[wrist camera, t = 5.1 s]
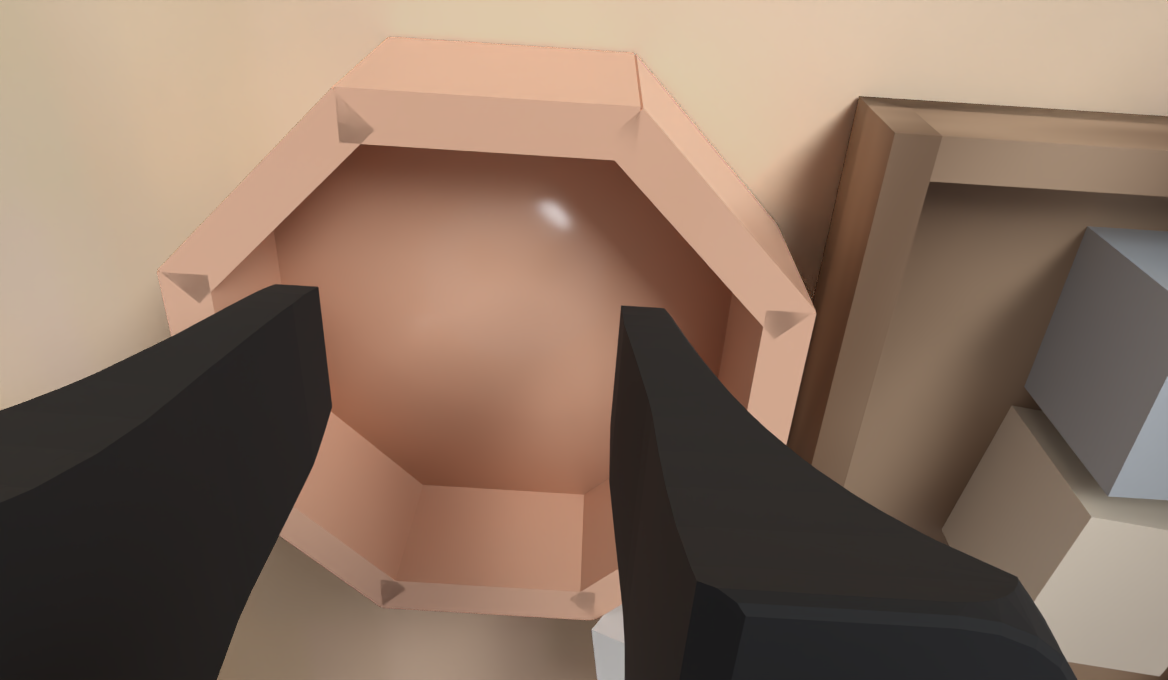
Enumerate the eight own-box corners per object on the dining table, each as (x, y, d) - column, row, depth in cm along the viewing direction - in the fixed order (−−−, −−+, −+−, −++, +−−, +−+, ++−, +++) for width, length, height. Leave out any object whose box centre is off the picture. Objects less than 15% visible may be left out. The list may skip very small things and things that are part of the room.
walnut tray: (1546, 141, 15) (1680, 183, 13) (1184, 691, 23) (1235, 768, 21) (859, 96, 15) (895, 132, 13) (731, 665, 23) (742, 739, 21)
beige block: (1161, 433, 18) (1268, 548, 15) (1078, 552, 20) (1159, 676, 17) (1011, 405, 18) (1090, 517, 15) (941, 529, 20) (1000, 650, 17)
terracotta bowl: (809, 64, 15) (860, 121, 12) (724, 512, 20) (744, 629, 17) (213, 25, 15) (111, 72, 12) (286, 485, 20) (230, 599, 17)
